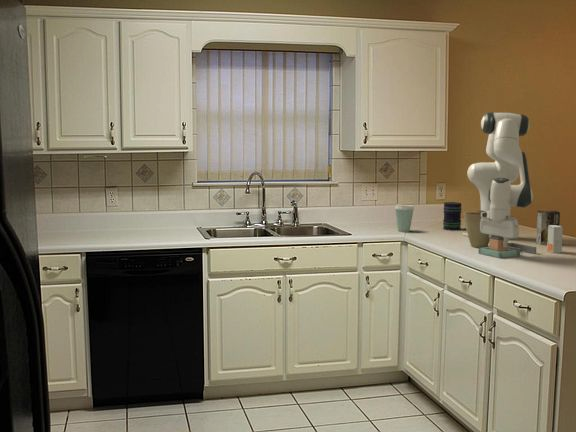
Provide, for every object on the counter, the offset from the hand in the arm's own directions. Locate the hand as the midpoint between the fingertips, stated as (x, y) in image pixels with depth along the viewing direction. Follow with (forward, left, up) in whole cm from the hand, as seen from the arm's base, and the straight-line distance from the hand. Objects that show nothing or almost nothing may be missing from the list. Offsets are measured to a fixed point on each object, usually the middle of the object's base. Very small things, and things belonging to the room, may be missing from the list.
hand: (498, 245), depth 297 cm
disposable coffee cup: (-79, +8, -4) cm, 79 cm away
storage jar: (-73, +37, -4) cm, 82 cm away
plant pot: (-21, +8, -4) cm, 23 cm away
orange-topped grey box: (0, 0, -2) cm, 2 cm away
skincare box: (+6, +28, -4) cm, 29 cm away
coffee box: (-12, +44, -4) cm, 46 cm away
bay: (-2, +12, -4) cm, 13 cm away
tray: (0, 0, -4) cm, 4 cm away
